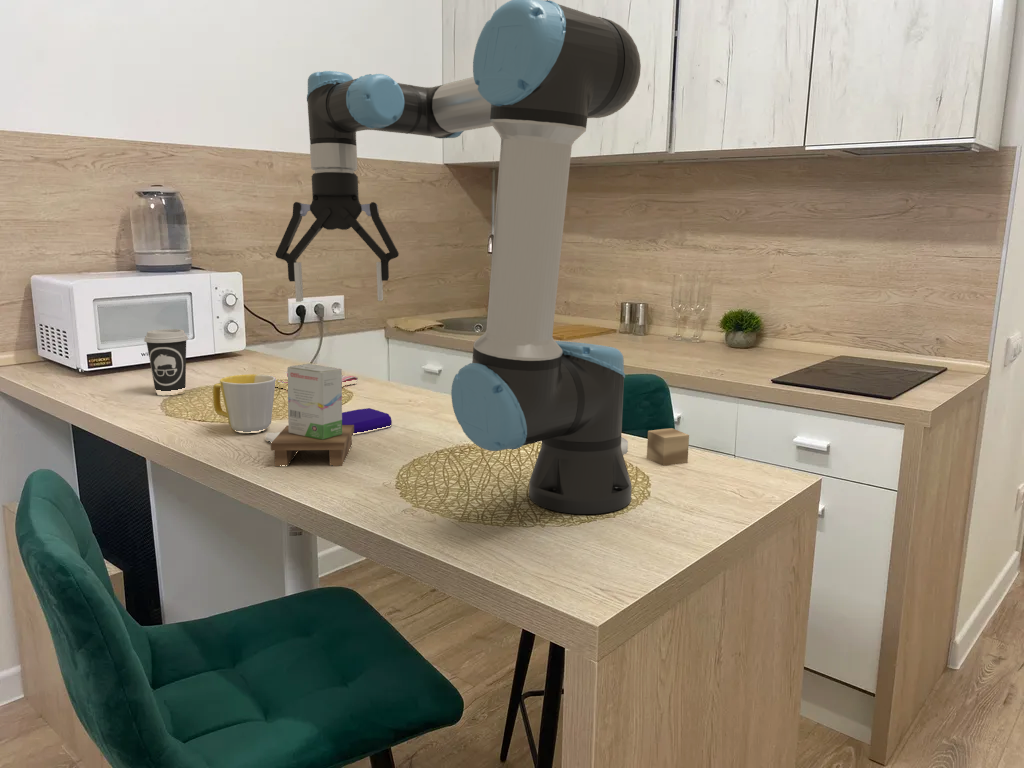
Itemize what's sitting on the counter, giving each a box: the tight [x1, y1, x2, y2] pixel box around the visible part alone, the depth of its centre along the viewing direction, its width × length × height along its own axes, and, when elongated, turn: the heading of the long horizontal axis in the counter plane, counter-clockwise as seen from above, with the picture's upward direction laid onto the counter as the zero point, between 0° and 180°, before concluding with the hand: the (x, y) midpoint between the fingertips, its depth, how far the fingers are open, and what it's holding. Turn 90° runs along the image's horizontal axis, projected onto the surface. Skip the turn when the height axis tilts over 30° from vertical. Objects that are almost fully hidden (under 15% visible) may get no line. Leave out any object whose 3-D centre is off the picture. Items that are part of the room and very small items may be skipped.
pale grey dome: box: [621, 436, 629, 456], centre depth 139 cm, size 9×9×2 cm
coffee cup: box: [143, 328, 189, 391], centre depth 182 cm, size 10×10×15 cm
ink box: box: [286, 363, 343, 440], centre depth 132 cm, size 9×5×12 cm, turn 58°
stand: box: [270, 424, 354, 467], centre depth 133 cm, size 12×12×4 cm
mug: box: [212, 373, 276, 432], centre depth 150 cm, size 14×10×10 cm
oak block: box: [646, 427, 690, 467], centre depth 132 cm, size 5×5×5 cm
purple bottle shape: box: [265, 407, 393, 443], centre depth 149 cm, size 3×11×24 cm
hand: (340, 301), depth 131 cm, fingers open, 13 cm apart
